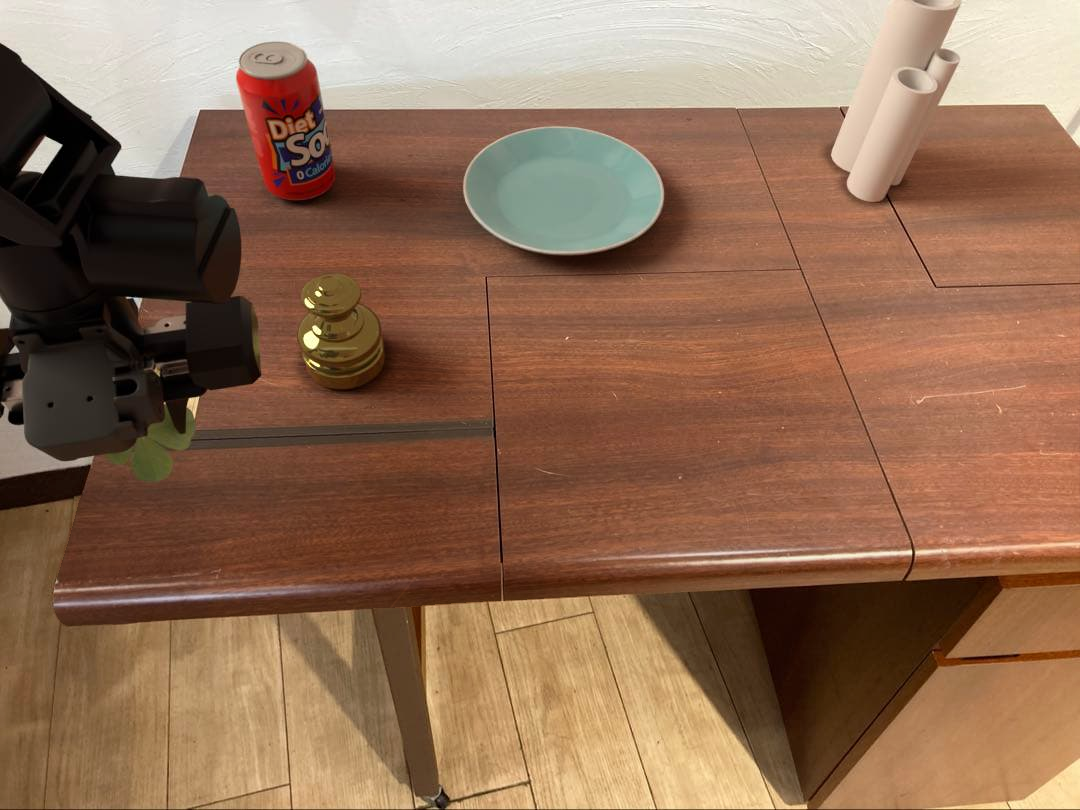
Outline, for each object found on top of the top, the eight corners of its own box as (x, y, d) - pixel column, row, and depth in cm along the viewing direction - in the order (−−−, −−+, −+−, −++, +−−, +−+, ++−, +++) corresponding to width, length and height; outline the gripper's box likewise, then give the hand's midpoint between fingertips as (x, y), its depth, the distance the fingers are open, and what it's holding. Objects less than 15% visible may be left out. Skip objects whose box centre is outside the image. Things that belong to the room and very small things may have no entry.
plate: (430, 238, 86) (428, 218, 84) (507, 127, 99) (507, 106, 97) (628, 297, 83) (631, 277, 80) (681, 173, 95) (686, 153, 93)
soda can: (277, 159, 93) (246, 33, 81) (344, 166, 93) (323, 41, 81) (256, 202, 88) (219, 75, 77) (327, 210, 88) (301, 83, 76)
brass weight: (341, 320, 79) (324, 242, 71) (402, 353, 77) (391, 276, 69) (288, 368, 75) (264, 291, 67) (350, 404, 73) (333, 329, 65)
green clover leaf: (151, 481, 62) (211, 465, 59) (52, 510, 55) (115, 493, 52) (124, 391, 62) (183, 371, 59) (21, 408, 54) (82, 386, 52)
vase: (822, 144, 100) (885, -21, 84) (877, 141, 101) (949, -22, 85) (856, 202, 94) (930, 36, 78) (914, 200, 95) (1000, 34, 79)
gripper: (-174, 417, 39) (-13, 563, 51) (231, 356, 42) (289, 506, 55) (-122, 260, 45) (9, 423, 58) (226, 218, 49) (279, 380, 61)
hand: (147, 435), depth 58 cm, fingers closed on green clover leaf, 4 cm apart
